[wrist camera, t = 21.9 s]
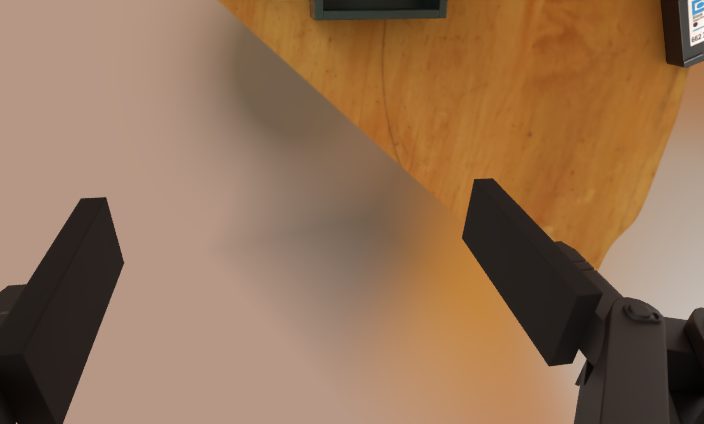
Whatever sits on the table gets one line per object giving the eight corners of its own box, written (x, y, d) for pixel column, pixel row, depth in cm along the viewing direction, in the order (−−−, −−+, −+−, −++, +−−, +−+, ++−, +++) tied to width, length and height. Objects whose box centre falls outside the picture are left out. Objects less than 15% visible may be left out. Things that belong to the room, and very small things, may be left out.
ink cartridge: (684, 70, 41) (678, -20, 38) (666, 66, 43) (658, -20, 40) (738, 46, 41) (736, -47, 37) (717, 43, 43) (714, -46, 39)
